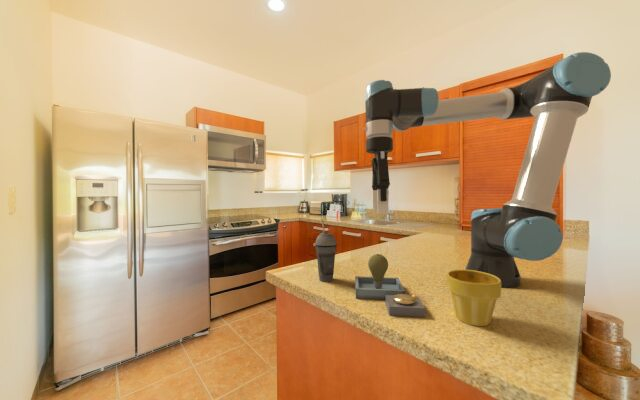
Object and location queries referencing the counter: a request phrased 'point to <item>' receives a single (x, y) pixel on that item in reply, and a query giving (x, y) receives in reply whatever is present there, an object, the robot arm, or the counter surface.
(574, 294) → the counter surface
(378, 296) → the tray
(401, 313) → the tester
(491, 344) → the counter surface
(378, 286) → the light bulb
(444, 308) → the counter surface
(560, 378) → the counter surface
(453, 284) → the plant pot
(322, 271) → the beverage cup
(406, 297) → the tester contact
